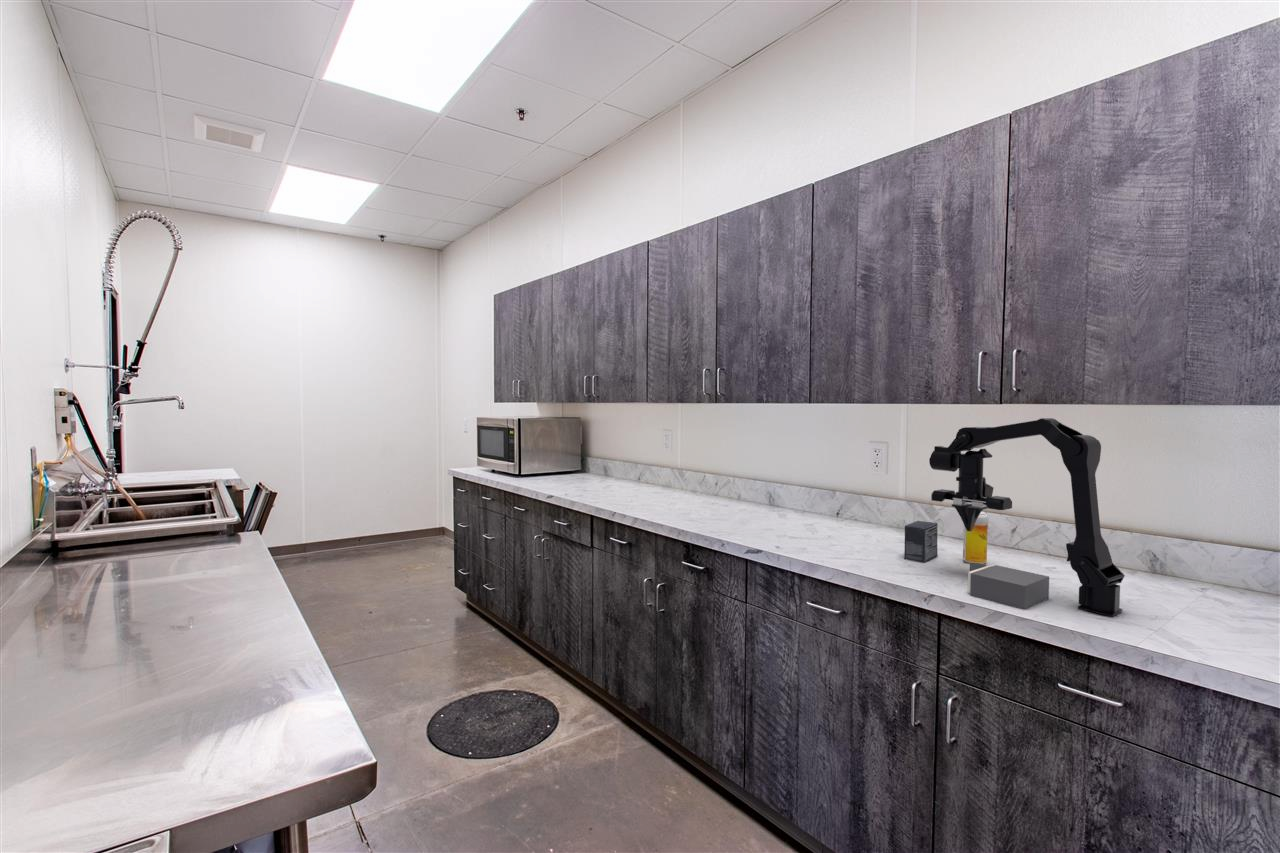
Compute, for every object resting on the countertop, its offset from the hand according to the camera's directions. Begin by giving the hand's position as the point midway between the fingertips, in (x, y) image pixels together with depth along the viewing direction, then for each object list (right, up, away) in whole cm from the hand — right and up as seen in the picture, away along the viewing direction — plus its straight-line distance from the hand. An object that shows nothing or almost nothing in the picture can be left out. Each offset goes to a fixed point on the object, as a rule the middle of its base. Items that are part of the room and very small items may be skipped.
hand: (969, 530), depth 158 cm
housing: (+1, -13, -16) cm, 21 cm away
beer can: (+10, -12, +15) cm, 21 cm away
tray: (0, -13, -15) cm, 20 cm away
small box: (-4, -12, +20) cm, 23 cm away
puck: (+2, -13, -1) cm, 13 cm away
